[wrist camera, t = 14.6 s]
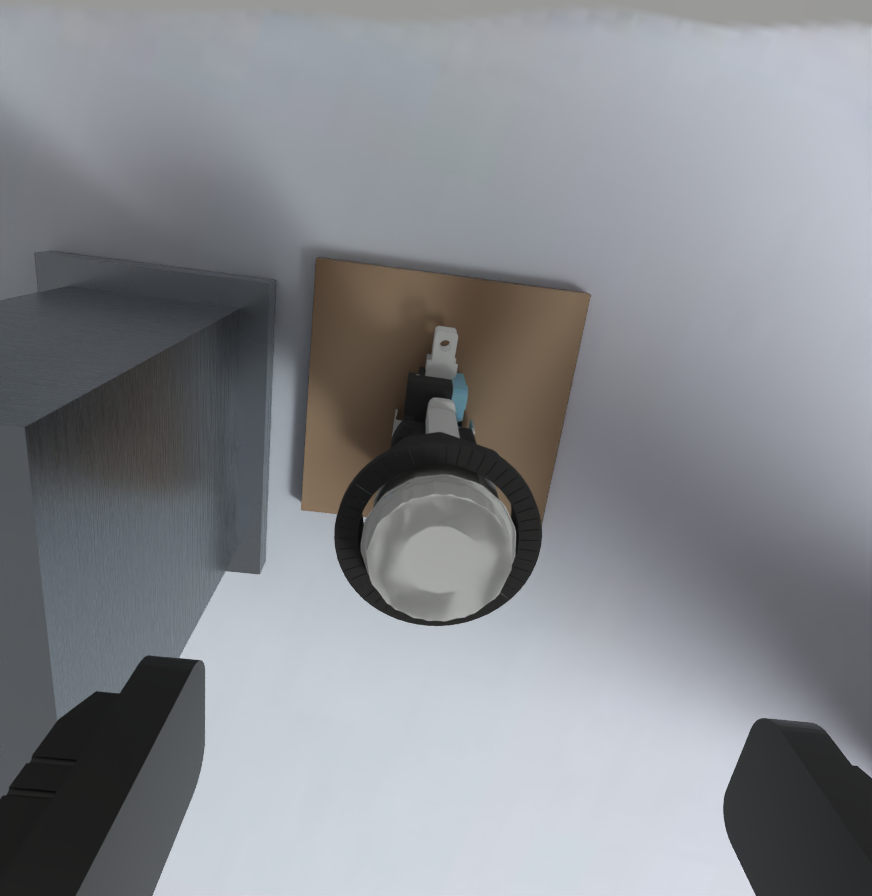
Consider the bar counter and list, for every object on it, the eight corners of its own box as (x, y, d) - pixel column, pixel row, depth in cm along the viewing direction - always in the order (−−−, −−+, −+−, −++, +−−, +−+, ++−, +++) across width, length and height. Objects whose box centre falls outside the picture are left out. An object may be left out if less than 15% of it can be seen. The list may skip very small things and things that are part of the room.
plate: (586, 292, 23) (590, 294, 23) (537, 528, 27) (539, 534, 26) (318, 257, 23) (316, 258, 22) (303, 503, 26) (300, 510, 26)
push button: (376, 313, 23) (346, 386, 13) (518, 335, 23) (585, 420, 14) (356, 478, 25) (319, 638, 16) (486, 495, 26) (524, 660, 16)
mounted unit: (275, 280, 23) (84, 374, 10) (265, 561, 27) (121, 890, 14) (50, 250, 22) (-471, 310, 9) (75, 542, 27) (-259, 867, 13)
